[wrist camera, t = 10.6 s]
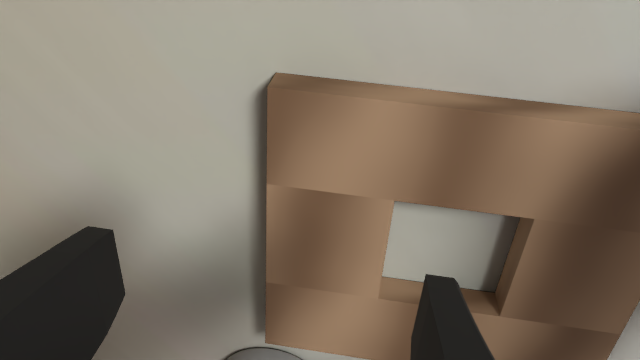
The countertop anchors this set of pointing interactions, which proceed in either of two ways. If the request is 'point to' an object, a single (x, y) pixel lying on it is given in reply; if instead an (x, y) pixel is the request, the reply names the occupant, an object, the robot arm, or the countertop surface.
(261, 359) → the travel mug
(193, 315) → the countertop surface
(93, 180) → the countertop surface
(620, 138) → the pocket tray
